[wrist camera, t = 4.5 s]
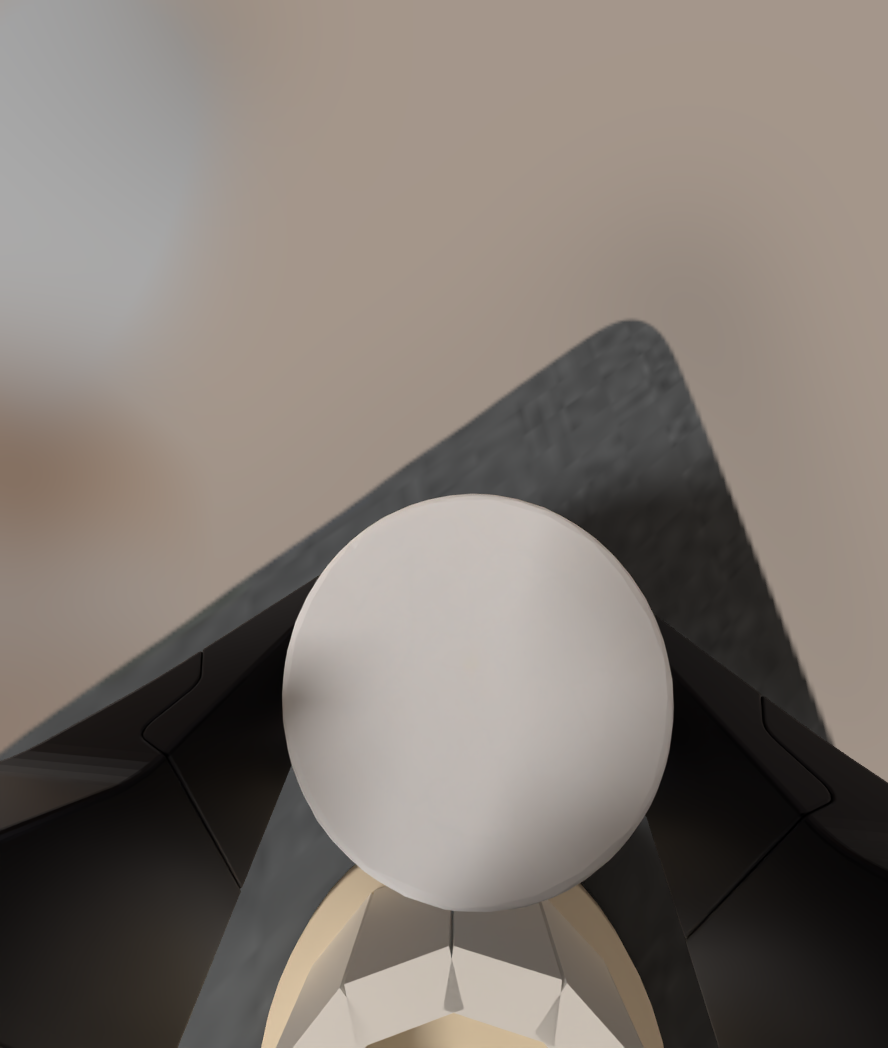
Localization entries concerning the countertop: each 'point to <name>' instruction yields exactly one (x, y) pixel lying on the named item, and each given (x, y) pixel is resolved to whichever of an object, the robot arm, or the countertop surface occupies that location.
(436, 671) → the pill bottle
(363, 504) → the countertop surface
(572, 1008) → the socket dock
